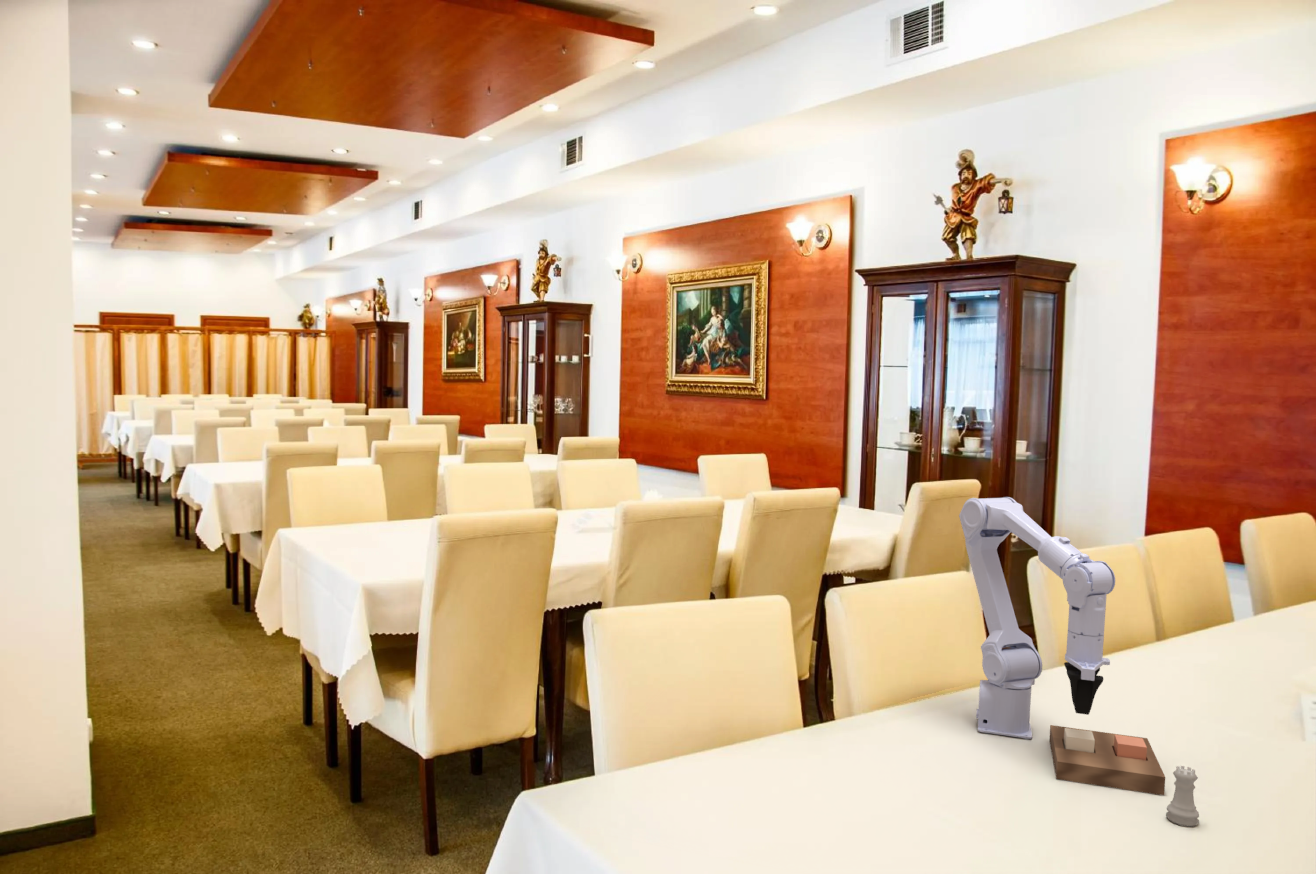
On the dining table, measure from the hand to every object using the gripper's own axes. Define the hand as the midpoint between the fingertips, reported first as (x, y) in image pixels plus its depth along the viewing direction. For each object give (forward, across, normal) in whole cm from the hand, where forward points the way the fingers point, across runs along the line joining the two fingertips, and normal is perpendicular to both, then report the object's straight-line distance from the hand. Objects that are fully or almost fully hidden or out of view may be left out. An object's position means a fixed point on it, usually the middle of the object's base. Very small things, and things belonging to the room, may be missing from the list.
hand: (1080, 709), depth 165 cm
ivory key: (+8, 0, 0) cm, 8 cm away
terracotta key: (+8, 0, -8) cm, 11 cm away
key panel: (+9, 0, -4) cm, 10 cm away
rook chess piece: (+10, -18, -13) cm, 24 cm away
